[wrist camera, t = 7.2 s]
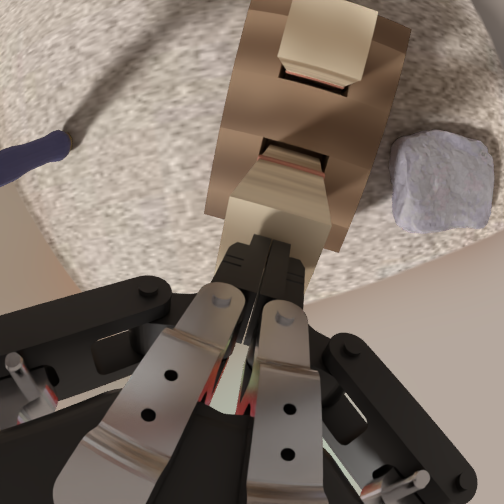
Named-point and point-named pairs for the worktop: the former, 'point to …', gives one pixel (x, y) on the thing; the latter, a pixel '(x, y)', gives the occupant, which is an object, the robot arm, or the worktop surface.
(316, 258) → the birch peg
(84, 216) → the worktop surface
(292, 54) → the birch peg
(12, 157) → the rubber mallet
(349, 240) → the worktop surface
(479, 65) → the worktop surface
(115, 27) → the worktop surface
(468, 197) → the stone block
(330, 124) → the wooden mortise block
